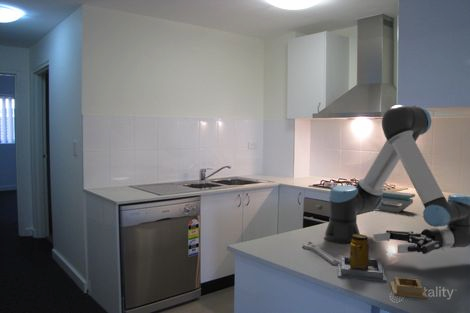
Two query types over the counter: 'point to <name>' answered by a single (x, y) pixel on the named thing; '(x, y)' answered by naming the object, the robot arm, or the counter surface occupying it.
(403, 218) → the counter surface
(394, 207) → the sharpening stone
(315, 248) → the adjustable wrench
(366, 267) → the condiment
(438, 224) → the robot arm
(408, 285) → the small brown compartment box
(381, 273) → the large collar
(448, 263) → the counter surface
